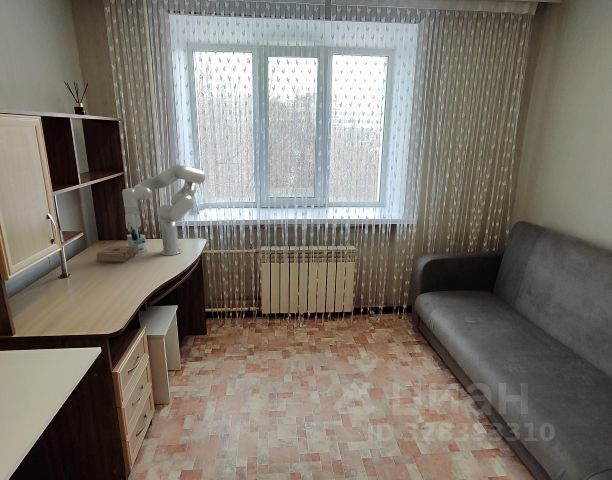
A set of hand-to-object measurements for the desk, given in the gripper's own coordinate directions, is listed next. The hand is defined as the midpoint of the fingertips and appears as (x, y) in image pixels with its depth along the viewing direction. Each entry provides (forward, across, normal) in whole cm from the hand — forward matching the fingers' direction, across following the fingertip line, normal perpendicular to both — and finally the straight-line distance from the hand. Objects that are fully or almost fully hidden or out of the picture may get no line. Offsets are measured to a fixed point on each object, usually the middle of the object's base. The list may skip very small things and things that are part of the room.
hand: (136, 238), depth 241 cm
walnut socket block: (+14, -2, -16) cm, 21 cm away
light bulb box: (+14, -19, -10) cm, 26 cm away
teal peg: (+3, 0, 0) cm, 3 cm away
